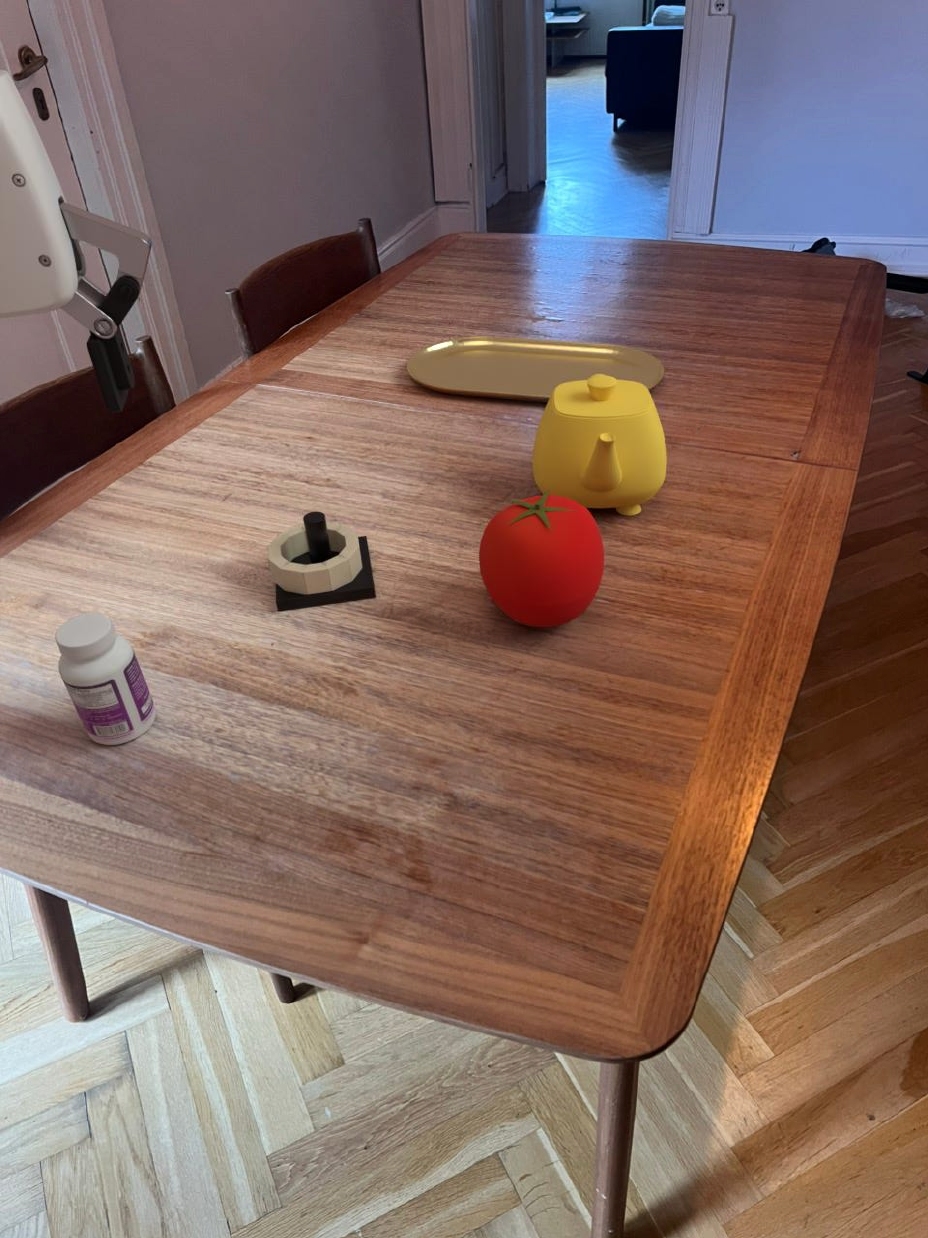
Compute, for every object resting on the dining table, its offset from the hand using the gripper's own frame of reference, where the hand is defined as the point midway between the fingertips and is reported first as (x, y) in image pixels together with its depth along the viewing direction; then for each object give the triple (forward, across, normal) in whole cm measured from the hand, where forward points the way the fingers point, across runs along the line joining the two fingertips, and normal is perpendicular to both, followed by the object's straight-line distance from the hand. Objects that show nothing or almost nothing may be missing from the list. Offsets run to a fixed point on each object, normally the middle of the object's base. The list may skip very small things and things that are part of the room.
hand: (29, 412), depth 49 cm
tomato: (+28, +32, +12) cm, 44 cm away
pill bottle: (+28, -4, +6) cm, 29 cm away
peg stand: (+28, +13, +22) cm, 38 cm away
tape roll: (+27, +12, +22) cm, 37 cm away
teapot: (+28, +42, +29) cm, 58 cm away
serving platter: (+28, +43, +63) cm, 81 cm away
